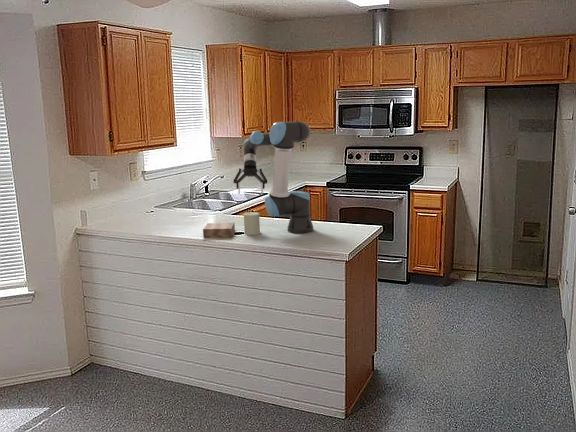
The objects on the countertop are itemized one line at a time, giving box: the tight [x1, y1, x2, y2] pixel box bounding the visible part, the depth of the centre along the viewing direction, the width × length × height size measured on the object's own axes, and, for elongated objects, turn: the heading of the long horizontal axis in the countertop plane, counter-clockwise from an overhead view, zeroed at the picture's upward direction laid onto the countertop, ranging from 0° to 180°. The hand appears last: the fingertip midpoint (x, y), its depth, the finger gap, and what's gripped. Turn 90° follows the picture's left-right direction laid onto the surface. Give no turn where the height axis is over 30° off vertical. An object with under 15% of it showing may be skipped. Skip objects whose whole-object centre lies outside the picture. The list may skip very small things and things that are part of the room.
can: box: [243, 211, 261, 236], centre depth 325 cm, size 9×9×12 cm
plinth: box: [202, 222, 236, 239], centre depth 326 cm, size 16×16×5 cm
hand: (250, 193), depth 333 cm, fingers open, 13 cm apart
